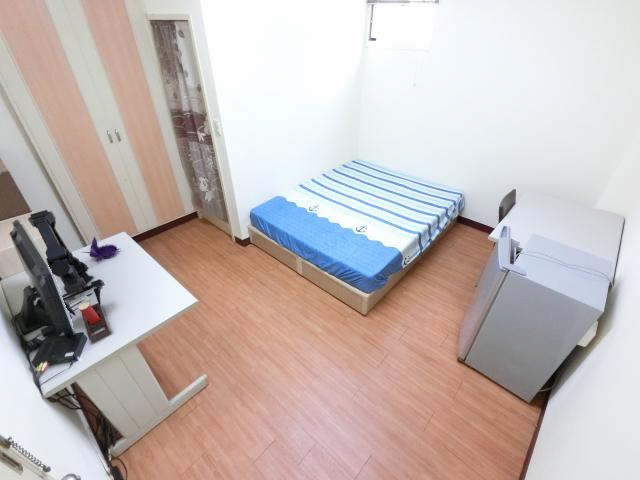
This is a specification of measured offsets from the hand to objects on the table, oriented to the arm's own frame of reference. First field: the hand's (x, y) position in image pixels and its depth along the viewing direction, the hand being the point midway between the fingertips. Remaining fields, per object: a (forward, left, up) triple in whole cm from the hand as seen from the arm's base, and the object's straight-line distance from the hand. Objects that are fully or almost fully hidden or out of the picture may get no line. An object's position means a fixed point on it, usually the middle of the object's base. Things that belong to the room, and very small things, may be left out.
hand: (88, 309), depth 124 cm
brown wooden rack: (+1, -1, -8) cm, 8 cm away
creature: (-28, +40, -8) cm, 49 cm away
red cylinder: (+1, -1, -8) cm, 8 cm away
